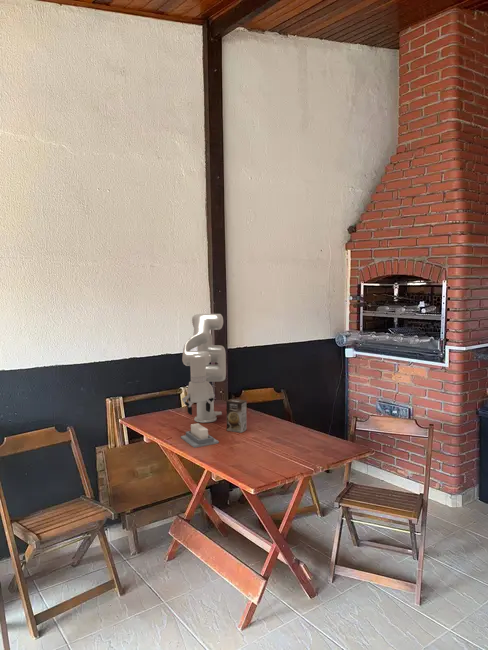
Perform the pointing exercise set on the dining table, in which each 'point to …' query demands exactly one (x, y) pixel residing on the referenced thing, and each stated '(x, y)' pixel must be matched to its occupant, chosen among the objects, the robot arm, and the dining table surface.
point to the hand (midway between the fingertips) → (199, 412)
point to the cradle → (198, 440)
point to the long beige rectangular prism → (199, 431)
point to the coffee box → (236, 415)
